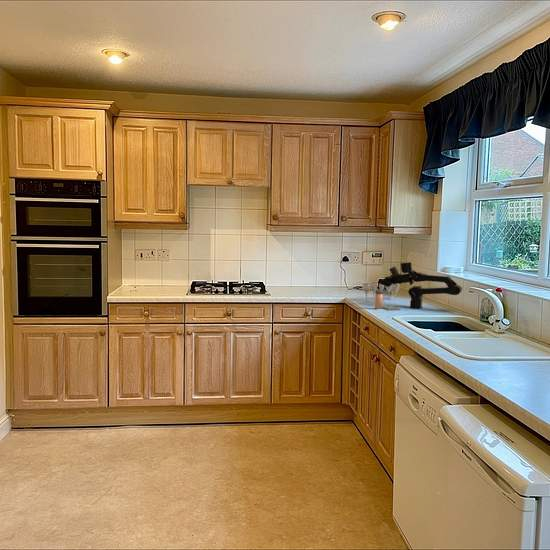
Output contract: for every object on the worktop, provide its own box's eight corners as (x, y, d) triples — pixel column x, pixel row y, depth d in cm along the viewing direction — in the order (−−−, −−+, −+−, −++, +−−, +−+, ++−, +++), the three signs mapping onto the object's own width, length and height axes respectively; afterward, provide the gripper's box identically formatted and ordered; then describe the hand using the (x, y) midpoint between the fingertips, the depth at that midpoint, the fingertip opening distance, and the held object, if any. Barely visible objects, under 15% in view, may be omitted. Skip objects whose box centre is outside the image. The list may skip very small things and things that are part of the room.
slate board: (391, 306, 340) (392, 305, 340) (400, 310, 329) (400, 308, 329) (380, 307, 339) (380, 306, 338) (388, 310, 327) (388, 309, 327)
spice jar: (383, 308, 333) (384, 290, 331) (380, 309, 329) (381, 291, 327) (376, 308, 335) (377, 289, 334) (373, 309, 331) (374, 290, 330)
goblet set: (396, 299, 372) (397, 281, 371) (400, 300, 367) (401, 282, 365) (360, 300, 365) (361, 281, 363) (364, 302, 359) (364, 282, 358)
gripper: (404, 264, 348) (382, 267, 356) (396, 268, 332) (373, 271, 340) (407, 281, 349) (385, 283, 357) (399, 285, 333) (375, 288, 341)
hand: (379, 281), depth 349 cm, fingers open, 9 cm apart
